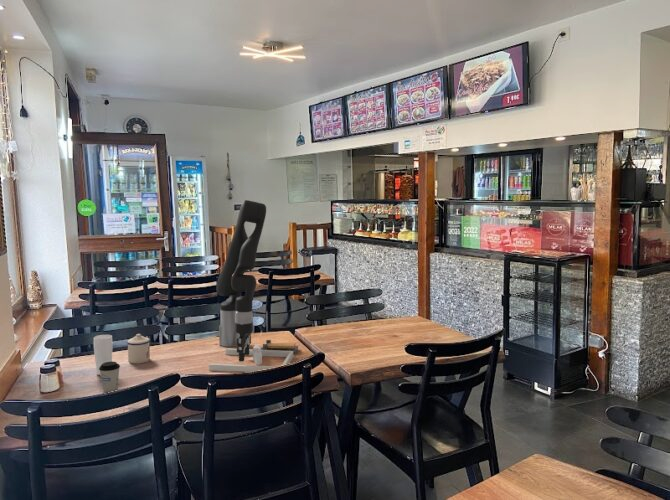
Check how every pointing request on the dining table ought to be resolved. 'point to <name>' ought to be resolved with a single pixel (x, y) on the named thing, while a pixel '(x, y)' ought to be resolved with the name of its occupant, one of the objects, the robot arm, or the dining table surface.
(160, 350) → the dining table surface
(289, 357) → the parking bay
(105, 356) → the drinking glass
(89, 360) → the dining table surface
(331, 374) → the dining table surface
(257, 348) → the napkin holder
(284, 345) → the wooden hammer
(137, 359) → the teacup with lid
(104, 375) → the coffee cup
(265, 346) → the pedal base
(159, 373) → the dining table surface
